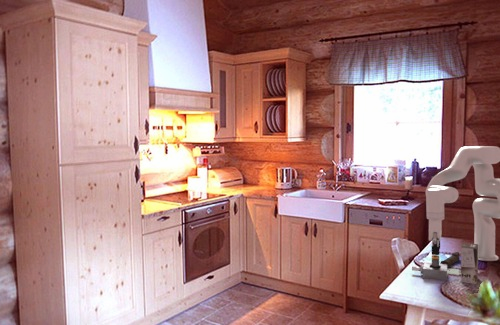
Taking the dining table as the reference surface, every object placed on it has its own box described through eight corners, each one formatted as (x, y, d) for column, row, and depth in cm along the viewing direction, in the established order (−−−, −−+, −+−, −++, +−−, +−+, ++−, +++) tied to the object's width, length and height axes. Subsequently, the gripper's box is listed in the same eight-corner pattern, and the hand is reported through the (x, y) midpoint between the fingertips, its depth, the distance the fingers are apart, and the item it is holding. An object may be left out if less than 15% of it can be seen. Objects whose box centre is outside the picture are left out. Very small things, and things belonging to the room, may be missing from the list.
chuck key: (439, 274, 197) (439, 255, 196) (438, 276, 194) (439, 257, 193) (431, 273, 198) (431, 254, 198) (431, 275, 195) (431, 256, 195)
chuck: (413, 271, 205) (413, 261, 205) (447, 274, 198) (447, 264, 198) (411, 277, 196) (411, 267, 196) (446, 281, 189) (446, 271, 189)
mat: (441, 268, 208) (441, 267, 208) (459, 270, 204) (459, 269, 204) (440, 273, 201) (440, 272, 201) (459, 275, 197) (459, 274, 197)
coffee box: (476, 285, 185) (477, 248, 184) (460, 282, 188) (460, 247, 187) (478, 278, 192) (478, 243, 191) (462, 276, 196) (462, 242, 195)
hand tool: (448, 269, 206) (448, 260, 206) (440, 267, 209) (440, 258, 209) (464, 261, 219) (464, 252, 218) (456, 259, 222) (456, 250, 221)
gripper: (427, 211, 203) (428, 245, 205) (425, 219, 188) (426, 256, 190) (444, 211, 200) (445, 247, 202) (443, 220, 185) (444, 258, 186)
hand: (436, 251), depth 196 cm, fingers open, 9 cm apart
